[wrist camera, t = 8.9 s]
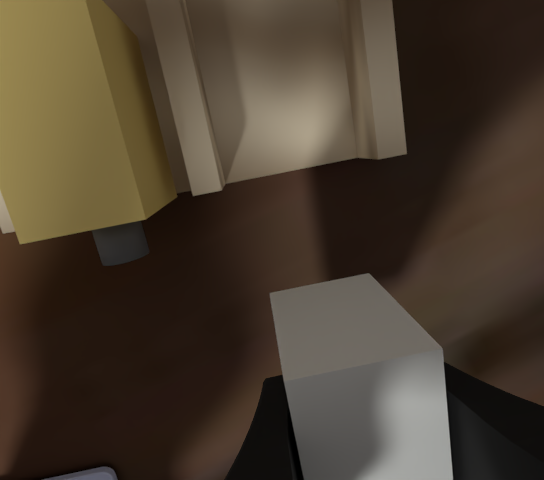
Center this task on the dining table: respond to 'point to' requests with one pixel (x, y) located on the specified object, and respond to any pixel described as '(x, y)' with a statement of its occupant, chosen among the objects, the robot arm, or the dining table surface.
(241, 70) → the birch comb rack
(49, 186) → the mustard plug
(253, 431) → the robot arm
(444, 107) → the dining table surface
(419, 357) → the grey plug
